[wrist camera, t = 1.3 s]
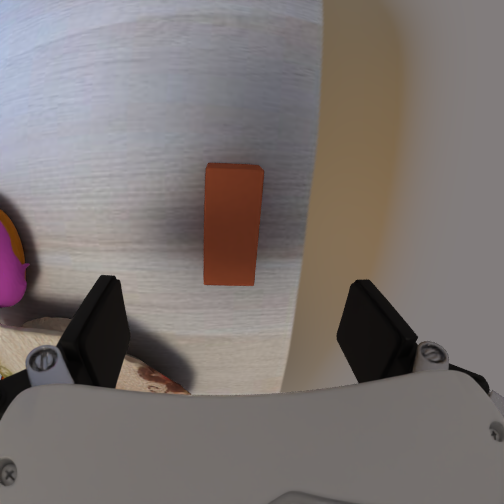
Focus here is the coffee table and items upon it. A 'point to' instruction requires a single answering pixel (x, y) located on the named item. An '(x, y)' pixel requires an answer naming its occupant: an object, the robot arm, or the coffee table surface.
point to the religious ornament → (26, 339)
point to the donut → (11, 264)
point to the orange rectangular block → (231, 223)
